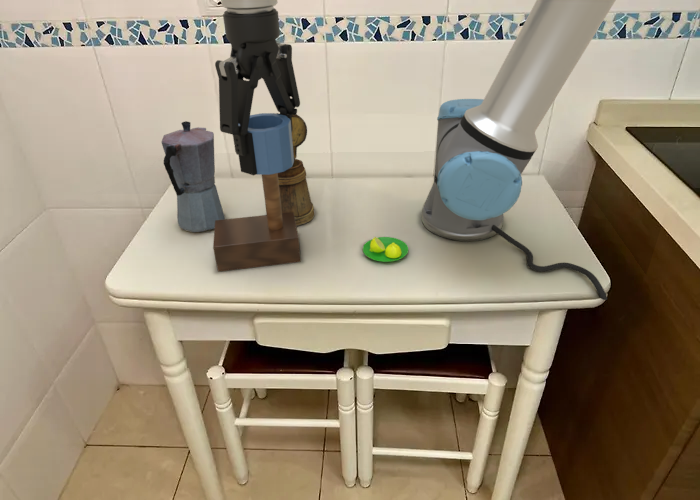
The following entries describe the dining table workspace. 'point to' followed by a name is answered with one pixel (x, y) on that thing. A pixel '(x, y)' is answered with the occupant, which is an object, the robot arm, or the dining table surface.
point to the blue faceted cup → (271, 142)
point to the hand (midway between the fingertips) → (268, 162)
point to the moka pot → (193, 177)
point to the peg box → (258, 235)
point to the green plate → (385, 249)
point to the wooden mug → (296, 180)
